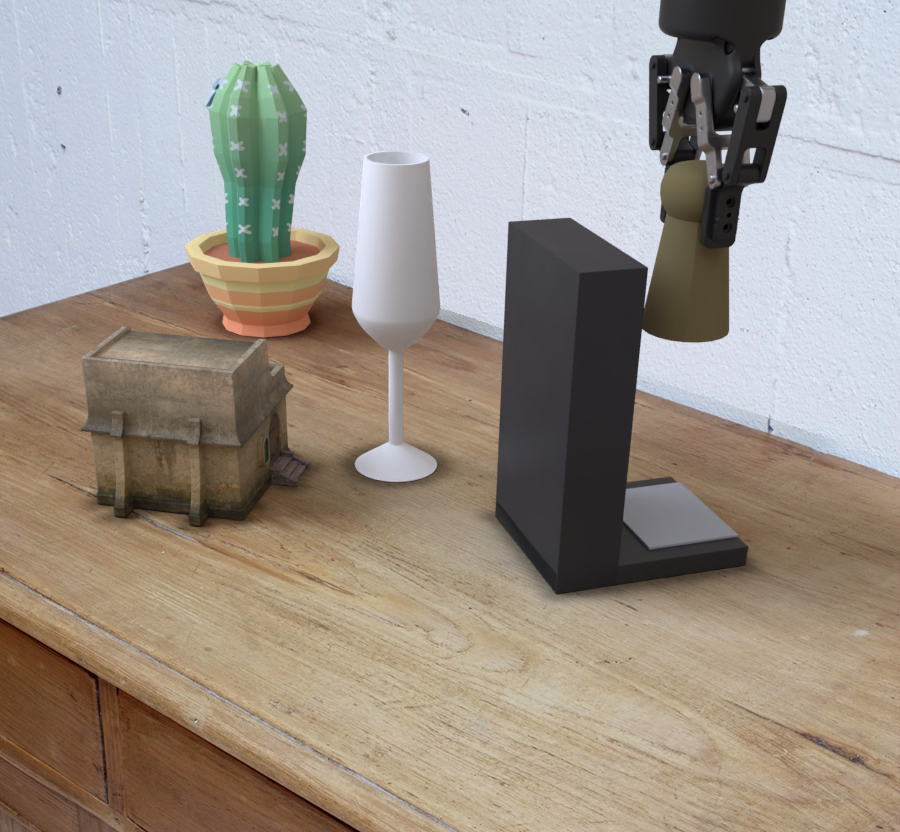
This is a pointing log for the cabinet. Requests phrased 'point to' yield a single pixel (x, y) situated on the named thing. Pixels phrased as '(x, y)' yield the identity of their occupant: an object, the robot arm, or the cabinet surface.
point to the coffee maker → (586, 422)
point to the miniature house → (187, 424)
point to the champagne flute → (396, 288)
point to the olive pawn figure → (687, 265)
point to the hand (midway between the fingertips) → (695, 233)
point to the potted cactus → (260, 207)
